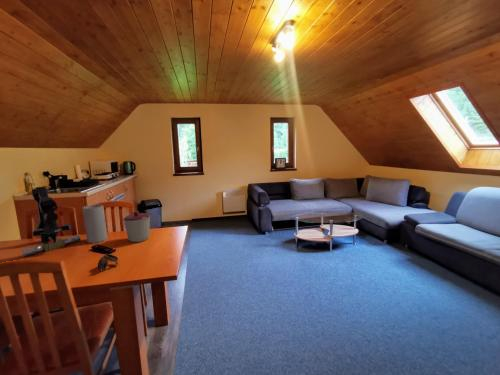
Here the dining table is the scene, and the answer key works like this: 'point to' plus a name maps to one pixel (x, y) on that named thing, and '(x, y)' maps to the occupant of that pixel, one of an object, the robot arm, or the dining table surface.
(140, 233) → the canister
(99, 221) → the cylinder vase
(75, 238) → the valve
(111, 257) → the dark curved loop
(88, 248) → the dining table surface
